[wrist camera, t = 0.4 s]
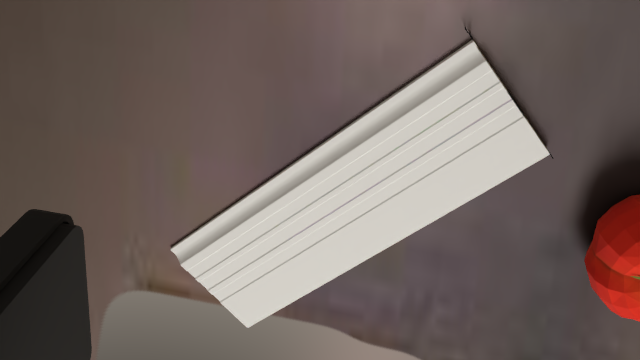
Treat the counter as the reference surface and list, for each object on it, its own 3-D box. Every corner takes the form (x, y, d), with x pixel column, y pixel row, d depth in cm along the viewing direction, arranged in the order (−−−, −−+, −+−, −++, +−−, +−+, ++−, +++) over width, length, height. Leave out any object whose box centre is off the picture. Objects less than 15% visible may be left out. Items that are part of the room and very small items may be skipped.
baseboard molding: (162, 232, 52) (250, 316, 56) (151, 251, 50) (244, 338, 54) (461, 20, 41) (546, 144, 45) (467, 31, 38) (556, 162, 42)
